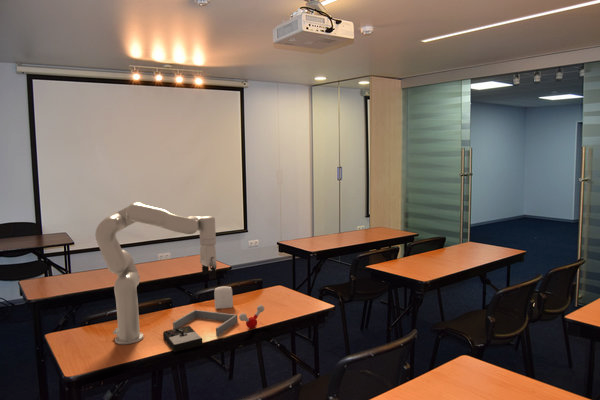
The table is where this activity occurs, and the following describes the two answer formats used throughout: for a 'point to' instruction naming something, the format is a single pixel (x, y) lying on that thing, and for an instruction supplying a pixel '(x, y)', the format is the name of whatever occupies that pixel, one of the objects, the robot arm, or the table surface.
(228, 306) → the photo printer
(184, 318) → the grey low wall frame
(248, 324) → the molecular model
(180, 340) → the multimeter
